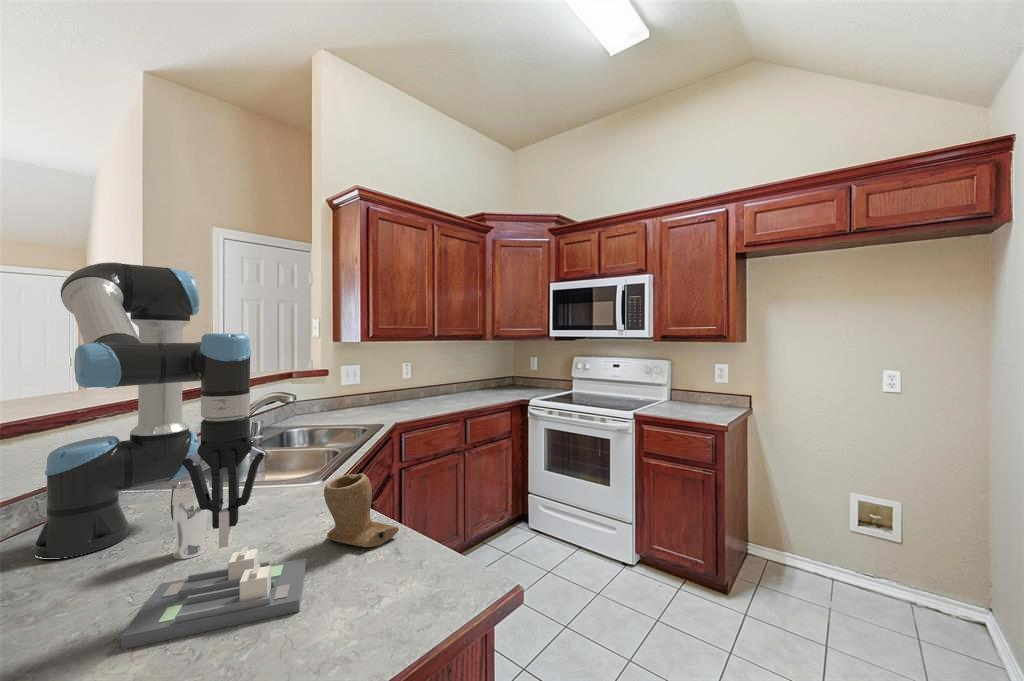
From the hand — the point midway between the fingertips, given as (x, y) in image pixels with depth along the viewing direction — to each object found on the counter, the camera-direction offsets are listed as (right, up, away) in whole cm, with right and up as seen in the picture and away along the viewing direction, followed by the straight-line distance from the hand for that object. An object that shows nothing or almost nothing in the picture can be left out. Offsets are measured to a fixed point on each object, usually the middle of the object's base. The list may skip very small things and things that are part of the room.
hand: (225, 543), depth 79 cm
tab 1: (+3, -7, +1) cm, 7 cm away
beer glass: (-17, -9, +14) cm, 24 cm away
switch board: (+3, -9, -4) cm, 10 cm away
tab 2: (+9, -7, -6) cm, 12 cm away
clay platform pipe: (+17, -9, +19) cm, 28 cm away
